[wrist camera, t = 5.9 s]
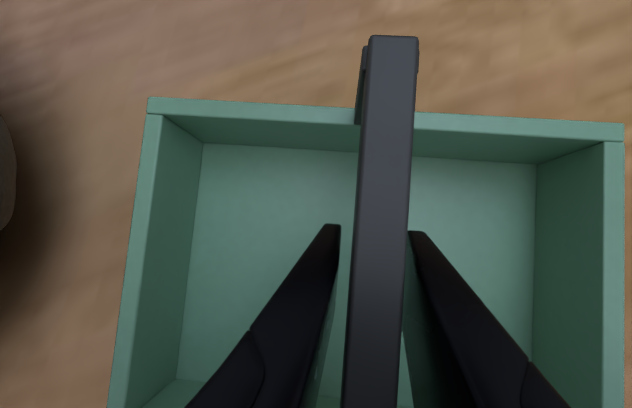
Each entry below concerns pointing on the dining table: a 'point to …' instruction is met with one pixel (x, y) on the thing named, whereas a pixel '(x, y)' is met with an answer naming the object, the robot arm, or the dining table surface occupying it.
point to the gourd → (6, 175)
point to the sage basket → (370, 234)
